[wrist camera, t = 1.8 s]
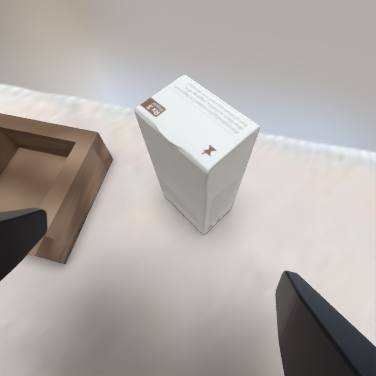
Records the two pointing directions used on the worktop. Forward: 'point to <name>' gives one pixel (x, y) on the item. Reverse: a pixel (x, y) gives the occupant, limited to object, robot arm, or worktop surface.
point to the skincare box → (196, 149)
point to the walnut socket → (51, 177)
